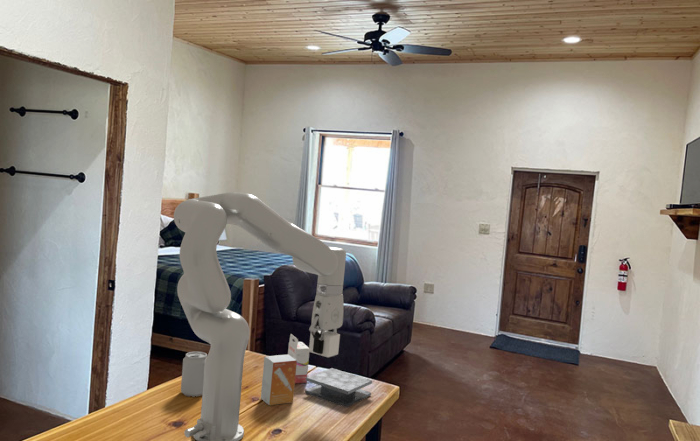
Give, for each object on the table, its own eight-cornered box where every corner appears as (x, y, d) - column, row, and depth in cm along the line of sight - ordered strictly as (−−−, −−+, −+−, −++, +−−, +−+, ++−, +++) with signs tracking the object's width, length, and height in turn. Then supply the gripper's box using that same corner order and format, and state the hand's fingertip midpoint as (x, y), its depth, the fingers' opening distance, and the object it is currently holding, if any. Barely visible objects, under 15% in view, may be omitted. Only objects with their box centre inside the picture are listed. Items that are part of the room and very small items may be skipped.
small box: (269, 406, 160) (272, 362, 159) (260, 398, 165) (263, 356, 165) (293, 402, 164) (297, 359, 164) (284, 395, 170) (287, 353, 169)
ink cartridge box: (307, 383, 182) (311, 339, 181) (293, 384, 180) (297, 340, 179) (299, 374, 190) (302, 332, 189) (285, 375, 188) (289, 333, 187)
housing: (328, 357, 156) (330, 336, 156) (308, 351, 160) (310, 331, 160) (338, 354, 160) (340, 334, 160) (319, 348, 164) (320, 329, 164)
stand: (346, 407, 164) (348, 391, 164) (304, 393, 173) (306, 377, 173) (370, 395, 176) (372, 380, 175) (330, 382, 184) (331, 368, 184)
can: (175, 395, 162) (178, 355, 161) (188, 387, 169) (191, 348, 169) (198, 399, 160) (201, 359, 160) (210, 391, 167) (213, 352, 167)
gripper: (322, 294, 150) (316, 359, 151) (356, 289, 164) (350, 349, 165) (301, 289, 154) (295, 353, 155) (335, 285, 168) (330, 343, 169)
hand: (323, 350), depth 160 cm, fingers closed on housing, 5 cm apart
